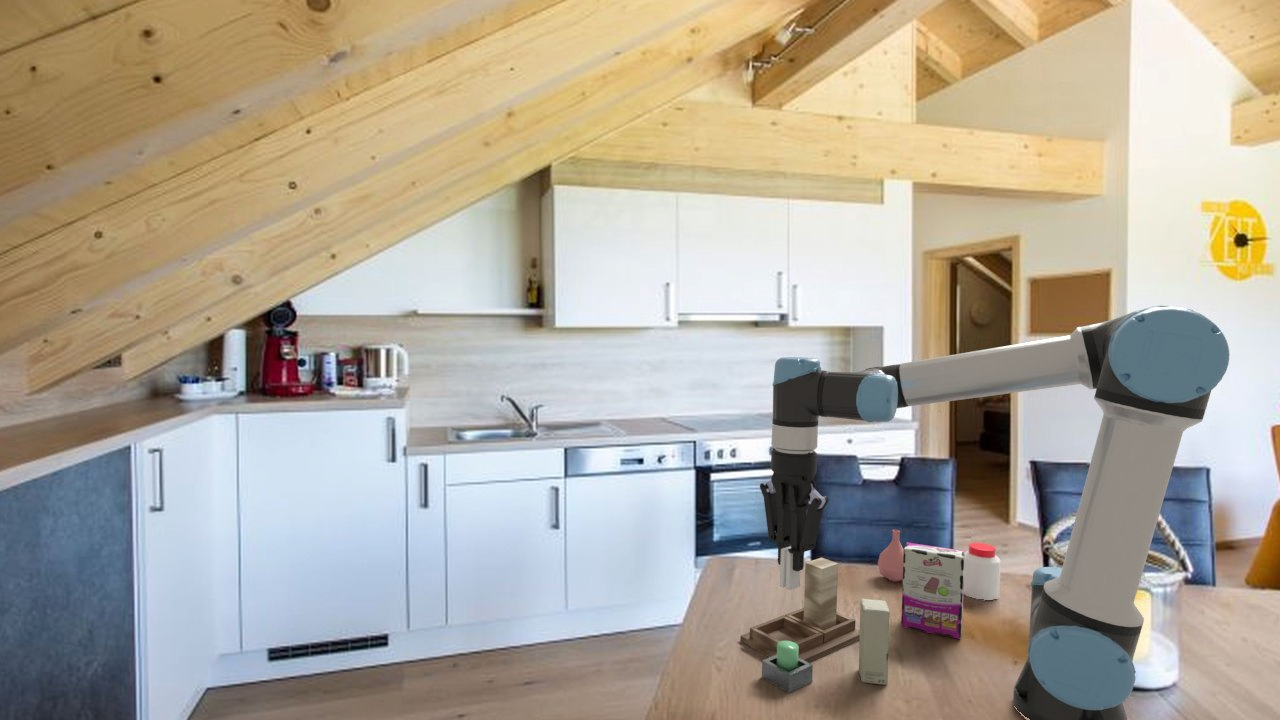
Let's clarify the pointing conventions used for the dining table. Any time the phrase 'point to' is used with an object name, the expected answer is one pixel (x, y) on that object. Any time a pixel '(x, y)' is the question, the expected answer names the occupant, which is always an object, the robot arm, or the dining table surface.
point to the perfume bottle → (892, 559)
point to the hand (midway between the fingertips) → (789, 586)
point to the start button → (787, 655)
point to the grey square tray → (787, 674)
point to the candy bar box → (933, 589)
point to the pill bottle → (981, 572)
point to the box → (874, 641)
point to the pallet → (802, 635)
